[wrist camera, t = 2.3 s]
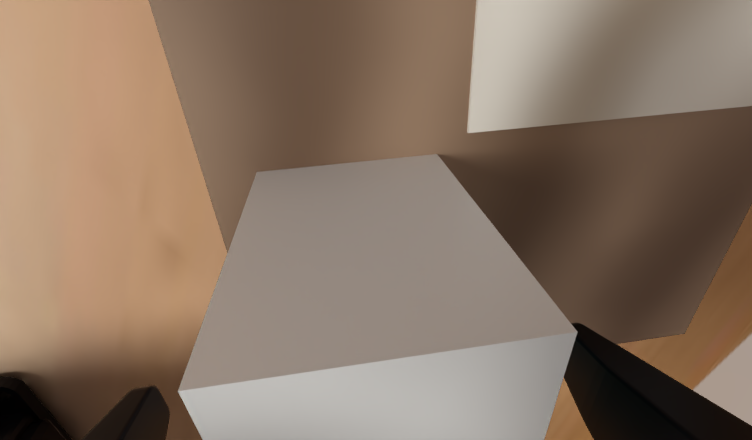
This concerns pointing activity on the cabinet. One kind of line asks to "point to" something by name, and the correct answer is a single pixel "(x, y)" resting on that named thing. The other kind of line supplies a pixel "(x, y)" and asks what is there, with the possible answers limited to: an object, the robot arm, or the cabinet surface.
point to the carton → (374, 315)
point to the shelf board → (500, 125)
